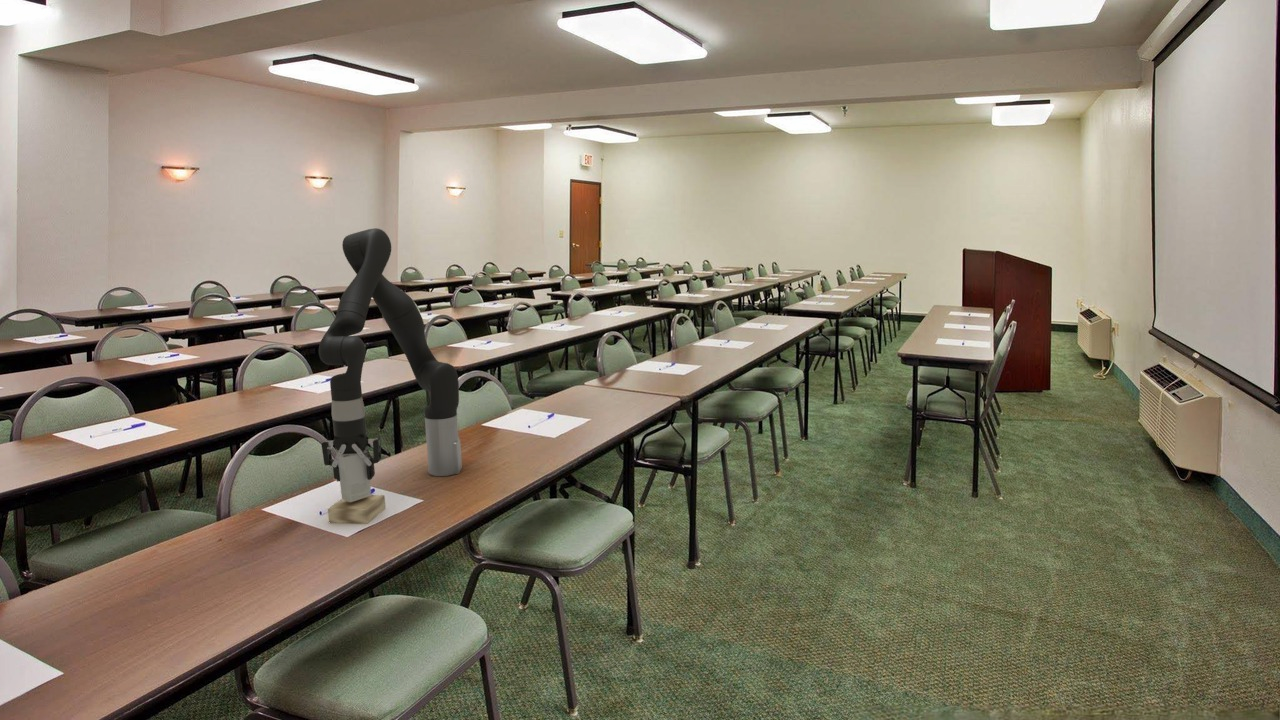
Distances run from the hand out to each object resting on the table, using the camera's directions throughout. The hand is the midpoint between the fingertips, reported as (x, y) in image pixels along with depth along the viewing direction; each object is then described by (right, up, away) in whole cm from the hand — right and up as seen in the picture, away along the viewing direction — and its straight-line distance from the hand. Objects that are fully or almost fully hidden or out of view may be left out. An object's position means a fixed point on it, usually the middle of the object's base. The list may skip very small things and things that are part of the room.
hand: (354, 479), depth 184 cm
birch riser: (0, -10, +2) cm, 10 cm away
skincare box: (0, -5, +1) cm, 5 cm away
